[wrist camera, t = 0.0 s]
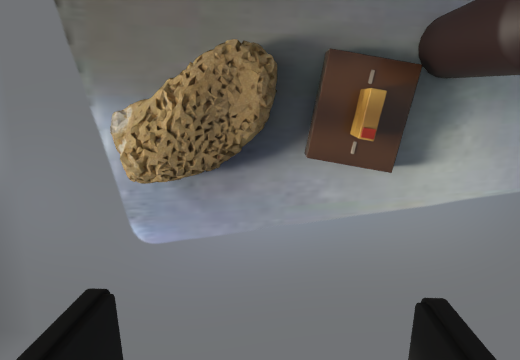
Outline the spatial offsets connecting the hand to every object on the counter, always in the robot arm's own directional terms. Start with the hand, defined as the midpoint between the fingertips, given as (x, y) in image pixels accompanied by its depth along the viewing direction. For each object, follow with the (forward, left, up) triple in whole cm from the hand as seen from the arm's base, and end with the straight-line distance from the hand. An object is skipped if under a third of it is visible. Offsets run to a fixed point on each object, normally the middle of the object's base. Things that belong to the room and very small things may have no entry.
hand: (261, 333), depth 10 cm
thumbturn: (-10, +4, -28) cm, 30 cm away
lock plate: (-10, +4, -31) cm, 33 cm away
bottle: (-22, +7, -31) cm, 39 cm away
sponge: (+2, -10, -31) cm, 33 cm away
